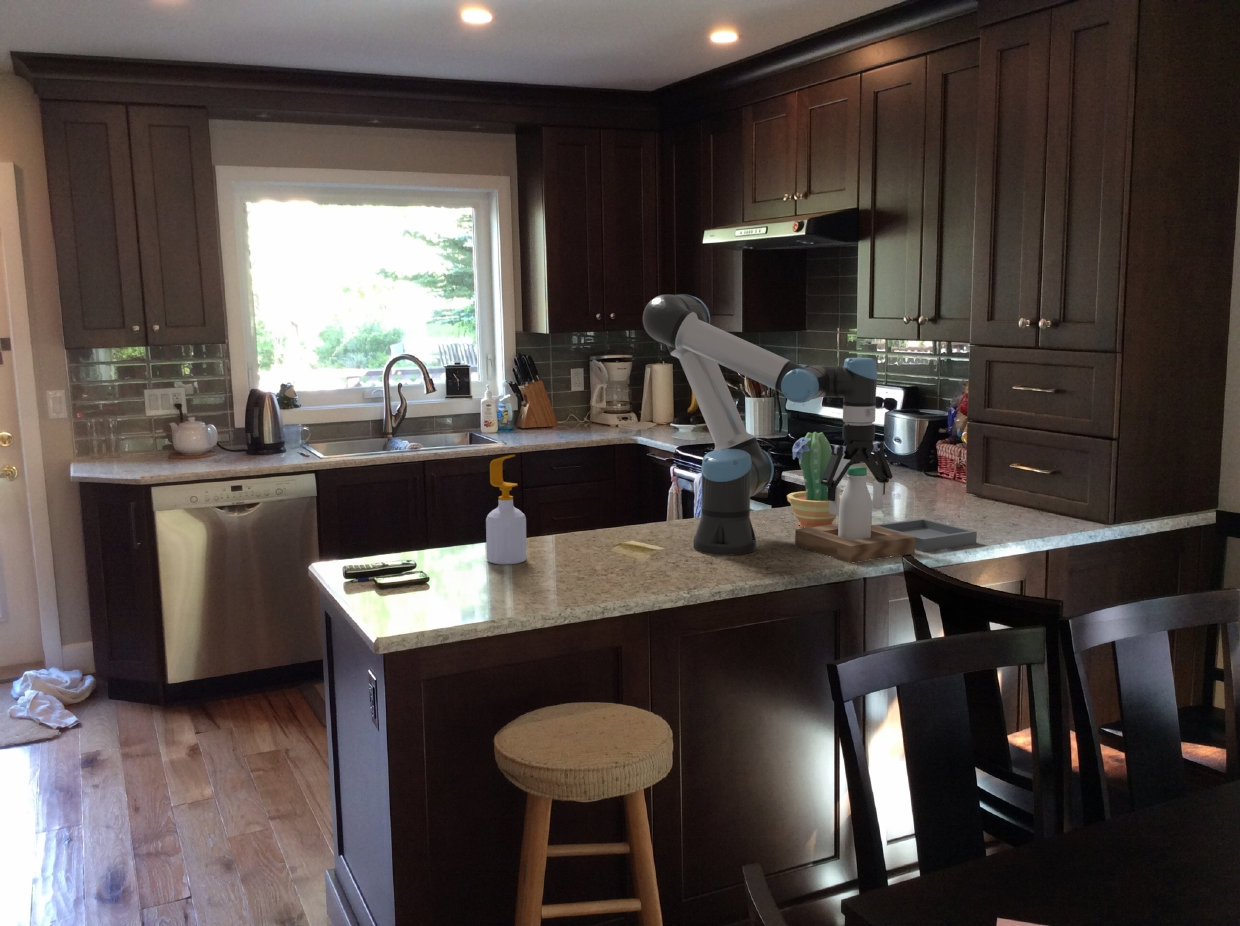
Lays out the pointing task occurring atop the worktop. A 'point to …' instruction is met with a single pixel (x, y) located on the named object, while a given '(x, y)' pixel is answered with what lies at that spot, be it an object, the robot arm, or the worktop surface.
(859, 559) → the block
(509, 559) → the soap bottle
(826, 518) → the potted cactus
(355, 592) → the worktop surface
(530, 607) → the worktop surface
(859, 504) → the milk bottle
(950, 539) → the tray
